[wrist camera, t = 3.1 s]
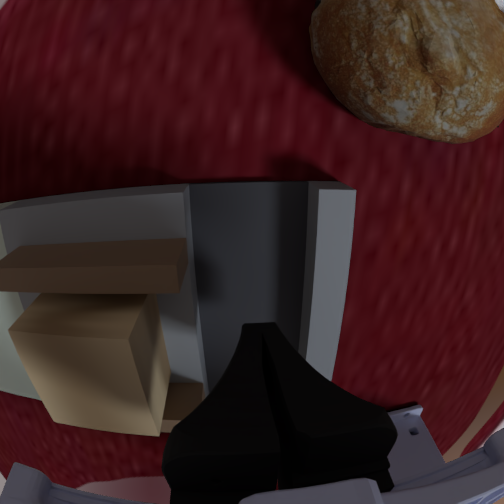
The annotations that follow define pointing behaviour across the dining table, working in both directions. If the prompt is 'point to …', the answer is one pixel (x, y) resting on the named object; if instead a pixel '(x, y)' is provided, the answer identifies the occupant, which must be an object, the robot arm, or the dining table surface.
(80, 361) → the wooden block
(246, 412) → the robot arm
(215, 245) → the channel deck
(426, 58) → the bread roll
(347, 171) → the dining table surface
